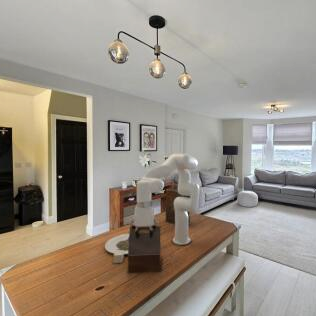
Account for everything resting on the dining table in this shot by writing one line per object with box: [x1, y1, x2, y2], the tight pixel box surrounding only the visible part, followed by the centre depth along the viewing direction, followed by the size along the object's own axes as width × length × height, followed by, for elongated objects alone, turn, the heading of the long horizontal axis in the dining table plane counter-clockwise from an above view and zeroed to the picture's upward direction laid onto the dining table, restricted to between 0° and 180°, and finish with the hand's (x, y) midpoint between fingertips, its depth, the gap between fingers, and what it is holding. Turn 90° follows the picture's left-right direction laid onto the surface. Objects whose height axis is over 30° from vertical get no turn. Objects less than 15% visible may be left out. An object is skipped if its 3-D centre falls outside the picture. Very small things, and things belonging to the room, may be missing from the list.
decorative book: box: [165, 188, 191, 226], centre depth 174 cm, size 23×7×30 cm, turn 56°
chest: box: [127, 242, 162, 273], centre depth 110 cm, size 13×17×9 cm
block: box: [113, 251, 125, 264], centre depth 113 cm, size 4×4×4 cm
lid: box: [127, 225, 162, 256], centre depth 103 cm, size 14×17×5 cm
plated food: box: [104, 232, 130, 255], centre depth 132 cm, size 30×30×3 cm
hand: (144, 237), depth 103 cm, fingers closed on lid, 6 cm apart
